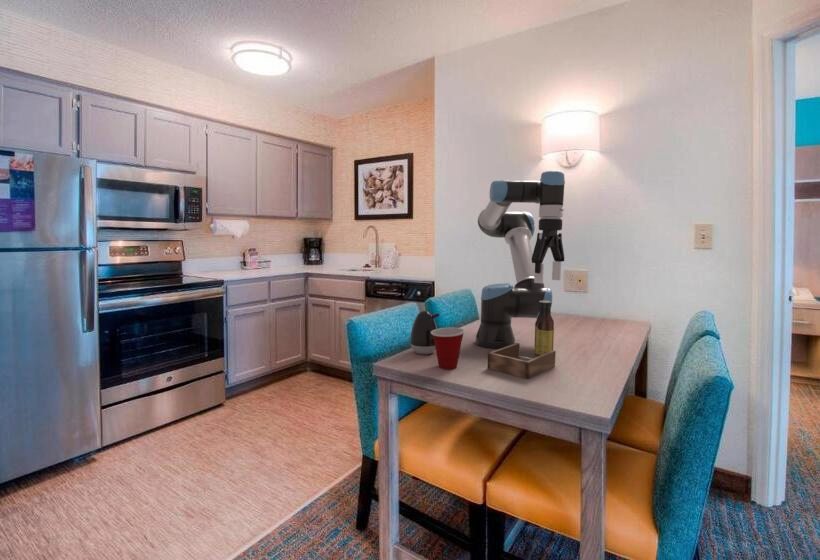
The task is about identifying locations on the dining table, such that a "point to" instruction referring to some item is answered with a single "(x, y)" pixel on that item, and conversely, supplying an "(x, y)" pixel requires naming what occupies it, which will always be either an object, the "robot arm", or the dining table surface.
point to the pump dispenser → (423, 333)
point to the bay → (519, 362)
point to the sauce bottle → (544, 329)
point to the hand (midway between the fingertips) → (547, 281)
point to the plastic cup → (448, 346)
